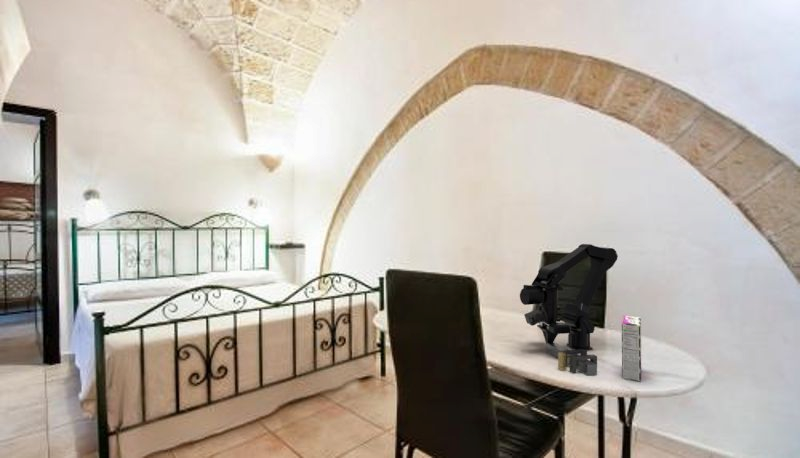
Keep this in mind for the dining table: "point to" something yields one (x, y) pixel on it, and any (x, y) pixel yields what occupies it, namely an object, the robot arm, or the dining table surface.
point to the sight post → (562, 361)
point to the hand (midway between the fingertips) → (548, 346)
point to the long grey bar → (581, 365)
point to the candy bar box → (631, 348)
